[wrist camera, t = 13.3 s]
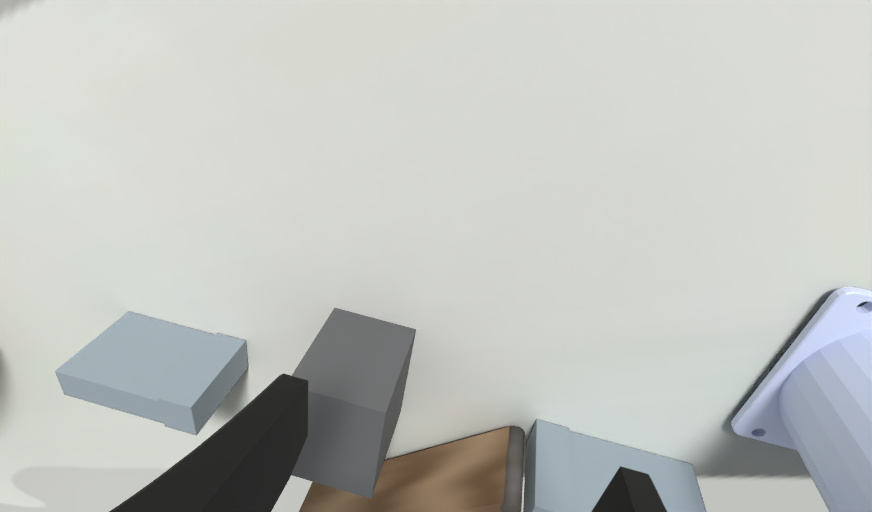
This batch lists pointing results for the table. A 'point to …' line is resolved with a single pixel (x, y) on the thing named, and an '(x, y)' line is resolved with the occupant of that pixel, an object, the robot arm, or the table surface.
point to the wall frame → (227, 361)
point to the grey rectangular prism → (352, 399)
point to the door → (440, 479)
